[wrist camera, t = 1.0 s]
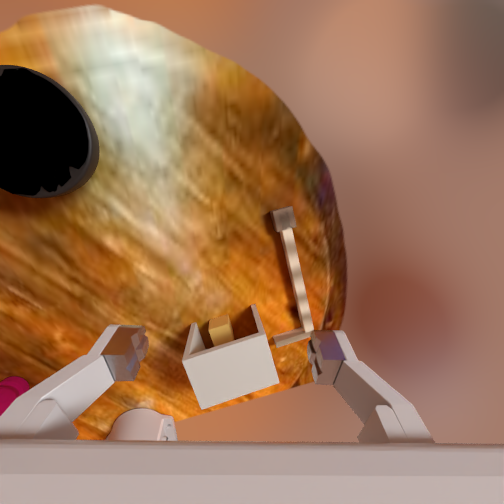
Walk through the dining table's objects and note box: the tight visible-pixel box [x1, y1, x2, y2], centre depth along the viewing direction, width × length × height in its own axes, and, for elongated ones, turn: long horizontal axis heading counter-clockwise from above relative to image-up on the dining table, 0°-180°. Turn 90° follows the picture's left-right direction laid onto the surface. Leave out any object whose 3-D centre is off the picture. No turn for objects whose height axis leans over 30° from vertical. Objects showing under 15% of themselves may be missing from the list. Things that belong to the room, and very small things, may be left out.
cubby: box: [182, 304, 279, 409], centre depth 52 cm, size 12×17×14 cm
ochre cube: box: [208, 314, 234, 347], centre depth 56 cm, size 5×5×5 cm
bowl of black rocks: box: [0, 65, 99, 198], centre depth 36 cm, size 20×20×19 cm
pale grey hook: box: [270, 206, 314, 348], centre depth 56 cm, size 35×12×3 cm, turn 15°
